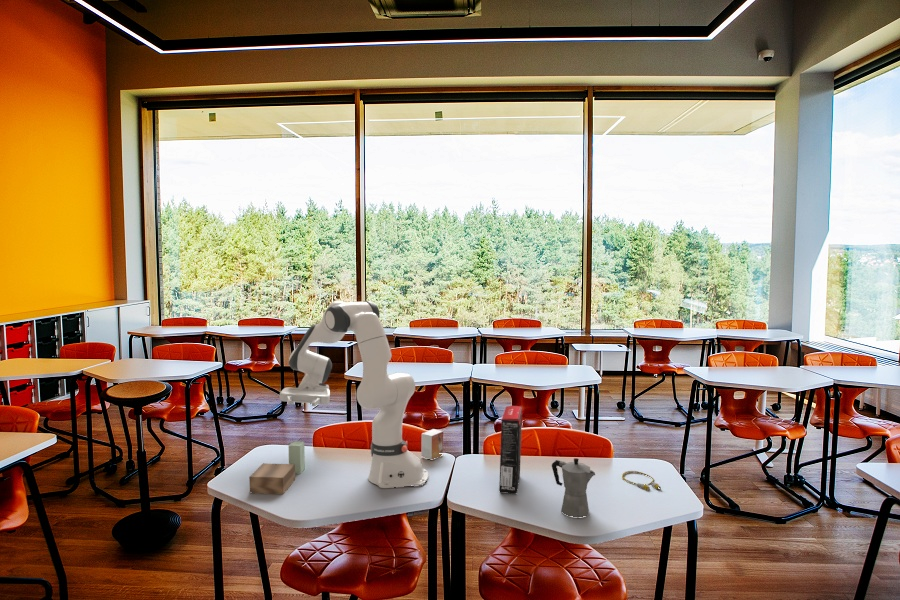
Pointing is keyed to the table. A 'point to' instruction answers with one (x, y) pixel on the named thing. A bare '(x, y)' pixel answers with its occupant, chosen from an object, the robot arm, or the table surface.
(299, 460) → the sage block
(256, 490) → the walnut block
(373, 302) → the robot arm
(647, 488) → the extension cord
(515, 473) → the graphics card box
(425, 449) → the small box
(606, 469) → the table surface
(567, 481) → the coffeepot
